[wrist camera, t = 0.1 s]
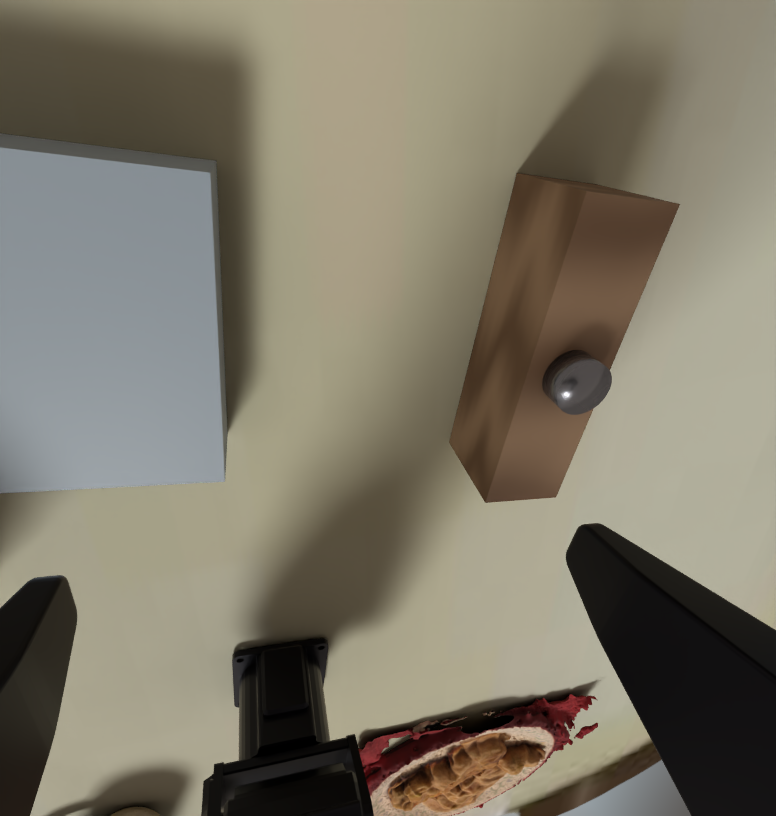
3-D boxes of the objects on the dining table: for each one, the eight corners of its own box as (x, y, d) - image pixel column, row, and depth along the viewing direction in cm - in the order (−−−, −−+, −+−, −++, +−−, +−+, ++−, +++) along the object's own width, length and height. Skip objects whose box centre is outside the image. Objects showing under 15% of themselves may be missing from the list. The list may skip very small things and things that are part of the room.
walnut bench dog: (511, 440, 28) (568, 513, 23) (449, 442, 27) (495, 520, 22) (595, 184, 21) (706, 210, 16) (516, 172, 20) (609, 196, 15)
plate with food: (355, 725, 44) (361, 768, 41) (589, 684, 51) (609, 719, 48) (332, 824, 56) (336, 862, 54) (523, 781, 63) (536, 813, 60)
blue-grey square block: (227, 429, 24) (224, 481, 20) (-70, 435, 20) (-130, 500, 17) (216, 159, 17) (210, 172, 14) (-212, 104, 14) (-348, 105, 11)
